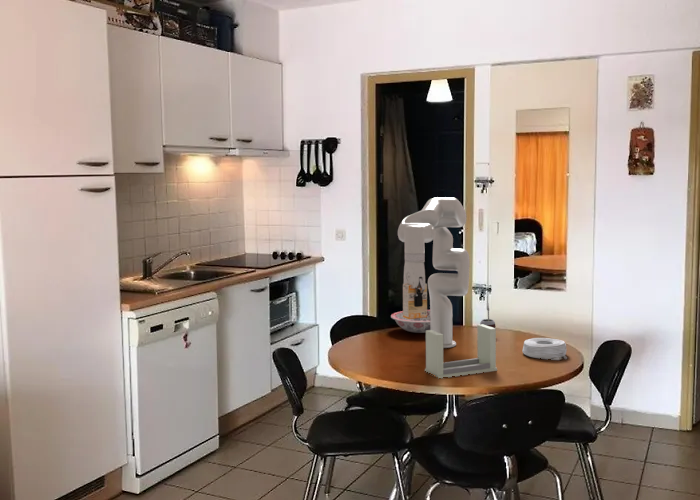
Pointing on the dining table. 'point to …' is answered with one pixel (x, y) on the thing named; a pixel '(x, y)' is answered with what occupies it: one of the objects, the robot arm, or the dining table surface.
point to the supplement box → (408, 303)
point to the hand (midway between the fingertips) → (415, 304)
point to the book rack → (461, 367)
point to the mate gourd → (488, 320)
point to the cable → (545, 348)
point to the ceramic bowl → (412, 322)
